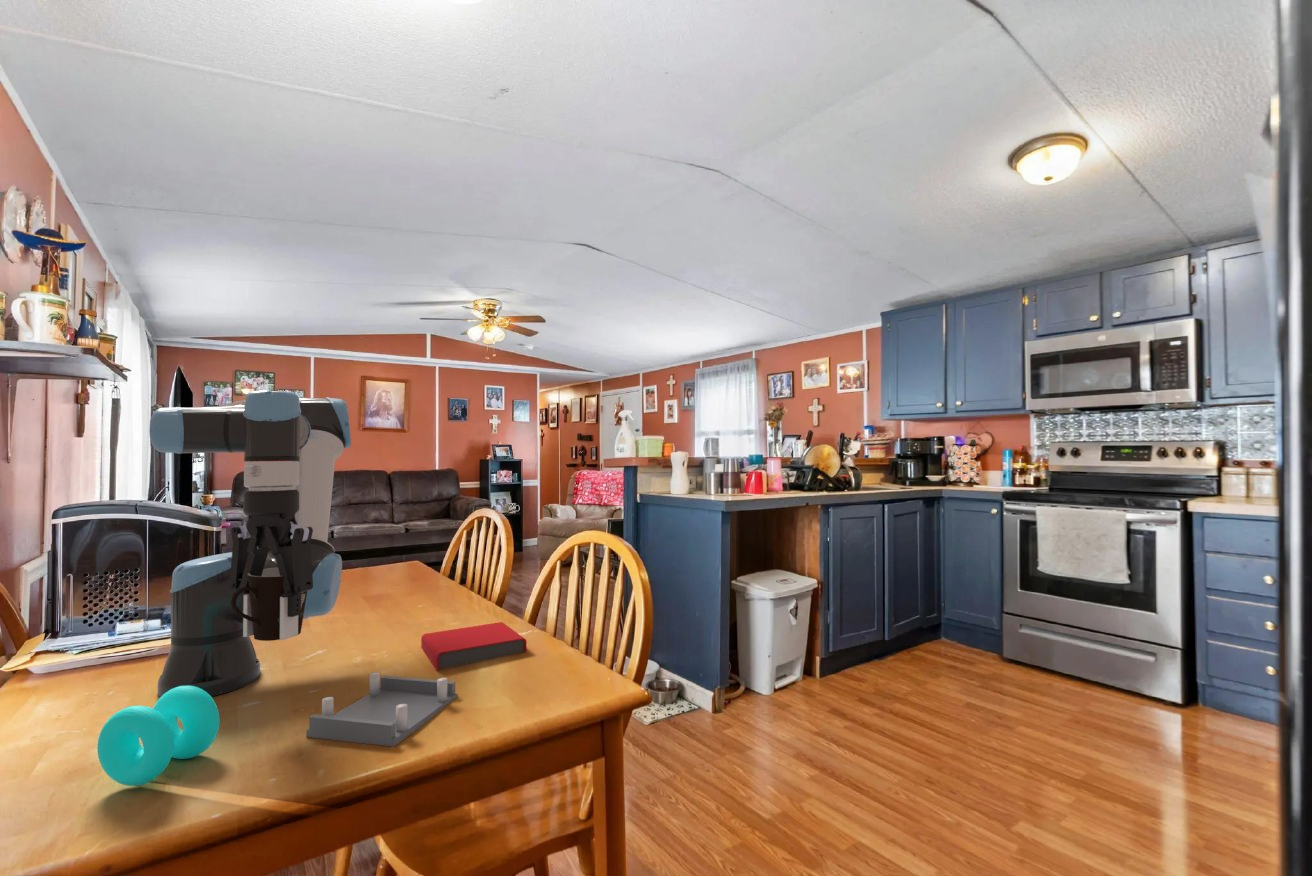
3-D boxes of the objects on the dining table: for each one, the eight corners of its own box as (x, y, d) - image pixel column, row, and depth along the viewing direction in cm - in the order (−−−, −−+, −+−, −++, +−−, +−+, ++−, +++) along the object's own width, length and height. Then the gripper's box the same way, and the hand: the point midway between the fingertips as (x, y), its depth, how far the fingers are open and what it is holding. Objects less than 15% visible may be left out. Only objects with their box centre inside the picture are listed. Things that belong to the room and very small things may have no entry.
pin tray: (306, 736, 93) (306, 706, 93) (381, 692, 110) (381, 667, 110) (394, 746, 89) (394, 715, 90) (457, 699, 106) (457, 673, 107)
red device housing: (504, 643, 138) (504, 621, 139) (526, 661, 126) (526, 637, 126) (421, 658, 129) (421, 634, 129) (436, 679, 117) (436, 653, 117)
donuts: (90, 787, 79) (91, 709, 79) (164, 749, 89) (164, 680, 89) (157, 793, 78) (158, 713, 78) (224, 754, 88) (225, 684, 88)
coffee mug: (297, 624, 104) (299, 564, 104) (317, 634, 98) (319, 571, 99) (215, 638, 95) (217, 574, 96) (231, 651, 90) (233, 582, 90)
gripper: (201, 489, 96) (199, 638, 95) (303, 490, 91) (301, 646, 91) (244, 487, 103) (243, 625, 103) (340, 487, 99) (339, 632, 98)
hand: (270, 635), depth 97 cm, fingers closed on coffee mug, 6 cm apart
